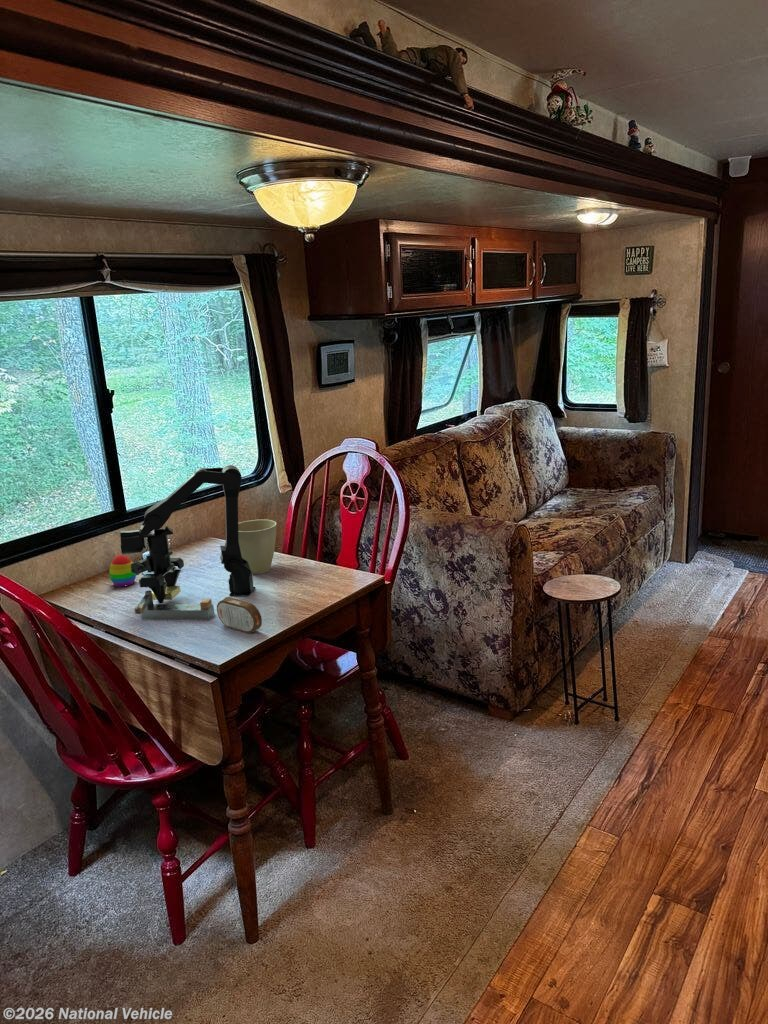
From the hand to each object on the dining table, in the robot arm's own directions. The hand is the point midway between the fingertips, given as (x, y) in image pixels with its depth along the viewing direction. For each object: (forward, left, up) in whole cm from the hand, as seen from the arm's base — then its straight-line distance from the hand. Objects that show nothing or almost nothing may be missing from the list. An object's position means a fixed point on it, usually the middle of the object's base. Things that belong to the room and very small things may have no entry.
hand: (166, 598), depth 213 cm
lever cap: (0, 0, +1) cm, 1 cm away
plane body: (-8, +10, -2) cm, 13 cm away
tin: (-29, +18, -2) cm, 34 cm away
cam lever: (-1, +15, +2) cm, 15 cm away
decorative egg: (+22, -17, -2) cm, 28 cm away
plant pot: (-20, -29, -2) cm, 35 cm away
